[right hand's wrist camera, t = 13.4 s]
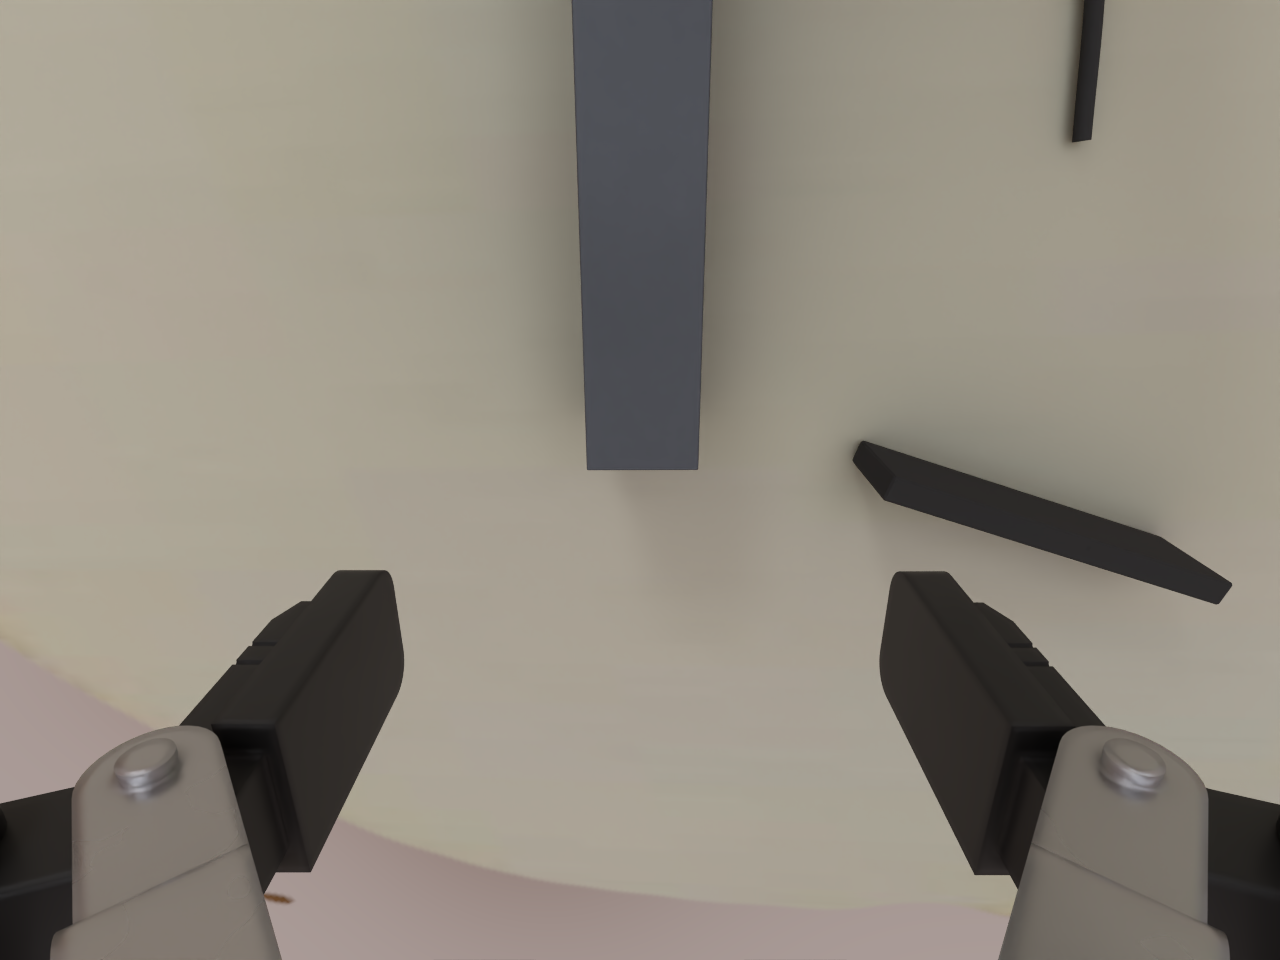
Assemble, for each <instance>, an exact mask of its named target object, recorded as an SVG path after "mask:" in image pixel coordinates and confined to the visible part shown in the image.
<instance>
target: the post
mask: <svg viewBox="0 0 1280 960" xmlns="http://www.w3.org/2000/svg"><path fill="white" fill-rule="evenodd" d="M712 4H713V0H572V24H573V55H574V86H575V116H576V147H577V178H578V208H579V239H580V270H581V300H582V331H583V362H584V392H585V423H586V454H587V470H698V457H699V424H700V392H701V360H702V327H703V295H704V262H705V230H706V198H707V165H708V133H709V101H710V68H711V36H712Z"/></svg>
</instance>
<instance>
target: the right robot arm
mask: <svg viewBox="0 0 1280 960" xmlns="http://www.w3.org/2000/svg"><path fill="white" fill-rule="evenodd" d="M1104 1H1105V0H1084V13H1083V27H1082V39H1081V51H1080V62H1079V73H1078V83H1077V94H1076V104H1075V115H1074V126H1073V138H1072V142H1078V141H1085V140H1091V137H1092V126H1093V116H1094V106H1095V96H1096V87H1097V77H1098V68H1099V58H1100V48H1101V37H1102V26H1103V14H1104ZM879 662H880V676H881V682H882V686H883V689H884V692H885V695H886V697H887V699H888V701H889V703H890V705H891V707H892V709H893V711H894V713H895V715H896V717H897V719H898V721H899V723H900V725H901V727H902V729H903V731H904V733H905V735H906V737H907V739H908V741H909V743H910V745H911V747H912V749H913V751H914V753H915V755H916V757H917V759H918V761H919V763H920V765H921V767H922V769H923V771H924V774H925V776H926V778H927V780H928V782H929V784H930V786H931V788H932V790H933V792H934V794H935V796H936V798H937V800H938V802H939V804H940V806H941V808H942V810H943V812H944V814H945V816H946V818H947V820H948V822H949V824H950V826H951V828H952V830H953V832H954V834H955V836H956V838H957V840H958V842H959V844H960V846H961V848H962V850H963V852H964V854H965V856H966V858H967V860H968V862H969V864H970V866H971V868H972V870H973V872H974V874H975V875H1010V876H1011V878H1012V880H1013V881H1014V883H1015V885H1016V887H1017V889H1018V891H1017V895H1016V898H1015V902H1014V905H1013V909H1012V913H1011V916H1010V920H1009V923H1008V927H1007V930H1006V934H1005V937H1004V941H1003V944H1002V948H1001V951H1000V955H999V959H998V960H1280V805H1279V804H1274V803H1270V802H1265V801H1261V800H1256V799H1252V798H1247V797H1243V796H1238V795H1234V794H1229V793H1225V792H1220V791H1216V790H1212V789H1208V788H1206V787H1205V785H1204V783H1203V782H1202V780H1201V779H1200V777H1199V776H1198V774H1197V773H1196V772H1195V771H1194V770H1193V769H1192V768H1191V767H1190V766H1189V765H1188V764H1187V763H1186V762H1184V761H1183V760H1182V759H1181V758H1180V757H1178V756H1177V755H1175V754H1174V753H1173V752H1171V751H1169V750H1168V749H1166V748H1164V747H1163V746H1161V745H1159V744H1157V743H1155V742H1153V741H1151V740H1149V739H1147V738H1145V737H1142V736H1140V735H1137V734H1135V733H1131V732H1128V731H1125V730H1121V729H1117V728H1113V727H1106V726H1105V725H1104V724H1103V723H1102V722H1101V720H1100V719H1099V718H1098V717H1097V716H1096V715H1095V714H1094V713H1093V711H1092V710H1091V709H1090V708H1089V707H1088V706H1087V705H1086V703H1085V702H1084V701H1083V700H1082V699H1081V698H1080V697H1079V696H1078V694H1077V693H1076V692H1075V691H1074V690H1073V689H1072V688H1071V686H1070V685H1069V684H1068V683H1067V682H1066V681H1065V680H1064V679H1063V677H1062V676H1061V675H1060V674H1059V673H1058V672H1057V671H1056V669H1055V668H1054V667H1053V666H1049V662H1048V660H1047V659H1046V658H1045V657H1044V656H1043V655H1042V654H1041V653H1040V651H1039V650H1038V649H1037V648H1033V646H1032V642H1031V641H1030V640H1029V639H1028V638H1027V637H1026V636H1025V634H1024V633H1023V632H1022V631H1021V630H1020V629H1019V628H1018V626H1017V625H1016V624H1015V623H1014V622H1013V621H1012V620H1010V619H1008V618H1007V617H1005V616H1004V615H1002V614H1000V613H999V612H997V611H996V610H994V609H992V608H991V607H989V606H988V605H986V604H984V603H973V601H972V600H971V599H970V598H969V597H968V595H967V594H966V593H965V592H964V591H963V589H962V588H961V587H960V586H959V585H958V583H957V582H956V581H955V580H954V578H953V577H952V576H951V575H950V574H949V573H947V572H944V571H899V572H897V573H895V575H894V576H893V578H892V581H891V585H890V591H889V597H888V604H887V610H886V617H885V623H884V630H883V637H882V643H881V650H880V661H879ZM403 671H404V651H403V644H402V638H401V631H400V624H399V618H398V611H397V604H396V598H395V591H394V585H393V581H392V578H391V575H390V574H389V572H388V571H385V570H339V571H337V572H335V573H334V574H333V575H332V576H331V578H330V579H329V580H328V581H327V582H326V584H325V585H324V586H323V587H322V589H321V590H320V591H319V592H318V593H317V595H316V596H315V597H314V598H313V600H312V601H301V602H299V603H298V604H296V605H295V606H293V607H291V608H290V609H288V610H287V611H285V612H283V613H282V614H280V615H279V616H277V617H276V618H274V619H272V620H271V621H270V622H269V623H268V625H267V626H266V627H265V628H264V629H263V630H262V631H261V633H260V634H259V635H258V636H257V637H256V638H255V639H254V641H253V644H252V646H248V647H247V649H246V650H245V651H244V652H243V653H242V654H241V655H240V657H239V658H238V659H237V663H236V665H232V666H231V667H230V668H229V669H228V670H227V671H226V673H225V674H224V675H223V676H222V677H221V678H220V679H219V681H218V682H217V683H216V684H215V685H214V686H213V687H212V689H211V690H210V691H209V692H208V693H207V694H206V695H205V697H204V698H203V699H202V700H201V701H200V702H199V703H198V705H197V706H196V707H195V708H194V709H193V710H192V711H191V713H190V714H189V715H188V716H187V717H186V718H185V719H184V721H183V722H182V723H181V724H180V725H179V726H174V727H167V728H163V729H159V730H155V731H152V732H149V733H146V734H143V735H140V736H138V737H135V738H133V739H131V740H129V741H127V742H125V743H123V744H121V745H119V746H117V747H116V748H114V749H112V750H111V751H109V752H108V753H106V754H105V755H103V756H102V757H101V758H99V759H98V760H97V761H96V762H94V763H93V764H92V765H91V766H90V767H89V768H88V769H87V770H86V771H85V772H84V773H83V774H82V776H81V777H80V779H79V780H78V782H77V783H76V785H75V787H73V788H68V789H64V790H59V791H55V792H50V793H46V794H41V795H37V796H32V797H28V798H23V799H19V800H15V801H10V802H6V803H1V804H0V960H282V959H281V955H280V952H279V948H278V944H277V941H276V937H275V934H274V930H273V927H272V923H271V920H270V916H269V913H268V909H267V905H266V902H265V898H264V893H265V891H266V889H267V888H268V886H269V884H270V882H271V880H272V878H273V876H274V875H275V873H276V872H311V871H312V868H313V866H314V864H315V862H316V860H317V858H318V856H319V854H320V852H321V850H322V848H323V846H324V844H325V842H326V840H327V838H328V836H329V834H330V832H331V830H332V828H333V825H334V824H335V821H336V819H337V817H338V815H339V813H340V811H341V809H342V807H343V805H344V803H345V801H346V799H347V797H348V795H349V793H350V791H351V789H352V787H353V785H354V783H355V781H356V779H357V776H358V774H359V772H360V770H361V768H362V766H363V764H364V762H365V760H366V758H367V756H368V754H369V752H370V750H371V748H372V746H373V744H374V742H375V740H376V738H377V736H378V734H379V732H380V729H381V727H382V725H383V723H384V721H385V719H386V717H387V715H388V713H389V711H390V709H391V707H392V705H393V703H394V701H395V699H396V697H397V695H398V692H399V690H400V687H401V683H402V678H403Z"/></svg>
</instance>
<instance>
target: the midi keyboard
mask: <svg viewBox="0 0 1280 960" xmlns="http://www.w3.org/2000/svg"><path fill="white" fill-rule="evenodd" d="M853 462H854V464H855V465H856V466H857V467H858V469H859V470H860V471H861V472H862V473H863V475H864V476H865V477H866V478H867V480H868V481H869V482H870V483H871V485H872V486H873V487H874V488H875V490H876V491H877V492H878V493H879V494H880V496H881V497H882V498H883V499H884V500H885V501H888V502H892V503H895V504H898V505H901V506H904V507H908V508H911V509H914V510H917V511H920V512H923V513H927V514H930V515H933V516H936V517H939V518H943V519H946V520H949V521H952V522H955V523H958V524H962V525H965V526H968V527H971V528H974V529H978V530H981V531H984V532H987V533H990V534H994V535H997V536H1000V537H1003V538H1006V539H1009V540H1013V541H1016V542H1019V543H1022V544H1025V545H1029V546H1032V547H1035V548H1038V549H1041V550H1044V551H1048V552H1051V553H1054V554H1057V555H1060V556H1064V557H1067V558H1070V559H1073V560H1076V561H1079V562H1083V563H1086V564H1089V565H1092V566H1095V567H1099V568H1102V569H1105V570H1108V571H1111V572H1115V573H1118V574H1121V575H1124V576H1127V577H1130V578H1134V579H1137V580H1140V581H1143V582H1146V583H1150V584H1153V585H1156V586H1159V587H1162V588H1165V589H1169V590H1172V591H1175V592H1178V593H1181V594H1185V595H1188V596H1191V597H1194V598H1197V599H1200V600H1204V601H1207V602H1210V603H1213V604H1219V603H1220V602H1221V600H1222V599H1223V598H1224V596H1225V595H1226V593H1227V592H1228V591H1229V589H1230V588H1231V587H1232V583H1231V582H1229V581H1228V580H1226V579H1225V578H1223V577H1222V576H1220V575H1218V574H1217V573H1215V572H1214V571H1212V570H1211V569H1209V568H1208V567H1206V566H1205V565H1203V564H1202V563H1200V562H1198V561H1197V560H1195V559H1194V558H1192V557H1191V556H1189V555H1188V554H1186V553H1185V552H1183V551H1182V550H1180V549H1178V548H1177V547H1175V546H1174V545H1172V544H1171V543H1169V542H1168V541H1166V540H1165V539H1163V538H1161V537H1159V536H1156V535H1153V534H1150V533H1147V532H1144V531H1141V530H1138V529H1135V528H1131V527H1128V526H1125V525H1122V524H1119V523H1116V522H1113V521H1110V520H1107V519H1104V518H1101V517H1097V516H1094V515H1091V514H1088V513H1085V512H1082V511H1079V510H1076V509H1073V508H1070V507H1067V506H1063V505H1060V504H1057V503H1054V502H1051V501H1048V500H1045V499H1042V498H1039V497H1036V496H1033V495H1030V494H1026V493H1023V492H1020V491H1017V490H1014V489H1011V488H1008V487H1005V486H1002V485H999V484H996V483H992V482H989V481H986V480H983V479H980V478H977V477H974V476H971V475H968V474H965V473H962V472H958V471H955V470H952V469H949V468H946V467H943V466H940V465H937V464H934V463H931V462H928V461H924V460H921V459H918V458H915V457H912V456H909V455H906V454H903V453H900V452H897V451H894V450H891V449H887V448H884V447H881V446H878V445H875V444H872V443H869V442H866V441H862V442H861V443H860V445H859V447H858V450H857V452H856V454H855V456H854V458H853Z"/></svg>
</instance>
